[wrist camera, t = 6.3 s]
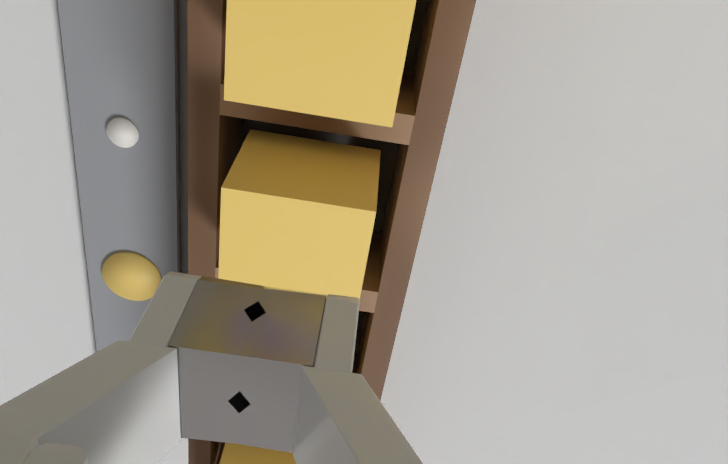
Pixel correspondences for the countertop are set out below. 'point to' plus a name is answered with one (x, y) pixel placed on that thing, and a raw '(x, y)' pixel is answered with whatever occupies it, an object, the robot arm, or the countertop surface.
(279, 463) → the yellow cube
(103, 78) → the pattern card
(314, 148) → the yellow cube
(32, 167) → the countertop surface
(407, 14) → the pale yellow cube
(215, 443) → the wooden compartment tray
